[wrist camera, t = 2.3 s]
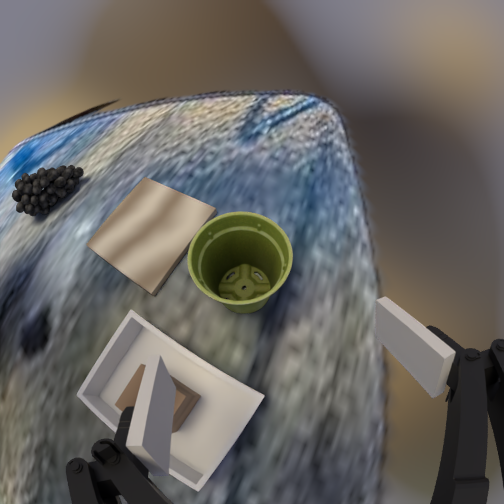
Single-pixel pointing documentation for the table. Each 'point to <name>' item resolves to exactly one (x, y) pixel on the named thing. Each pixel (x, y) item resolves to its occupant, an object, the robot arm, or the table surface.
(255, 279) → the plant pot
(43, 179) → the fruit
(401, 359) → the robot arm
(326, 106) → the table surface
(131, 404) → the walnut block
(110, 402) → the grey tray
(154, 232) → the ash board
